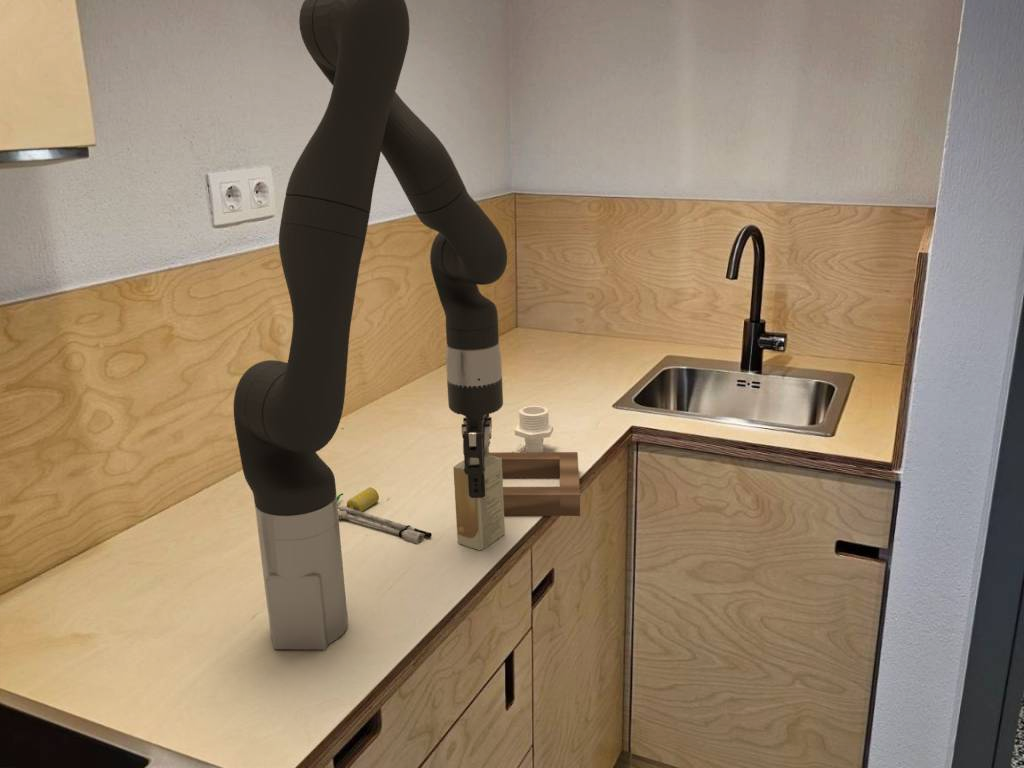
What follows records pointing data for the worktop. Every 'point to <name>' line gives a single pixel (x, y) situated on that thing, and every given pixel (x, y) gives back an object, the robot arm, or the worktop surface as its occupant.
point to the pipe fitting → (534, 427)
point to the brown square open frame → (541, 498)
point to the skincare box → (480, 506)
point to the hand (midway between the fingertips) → (479, 483)
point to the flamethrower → (367, 500)
